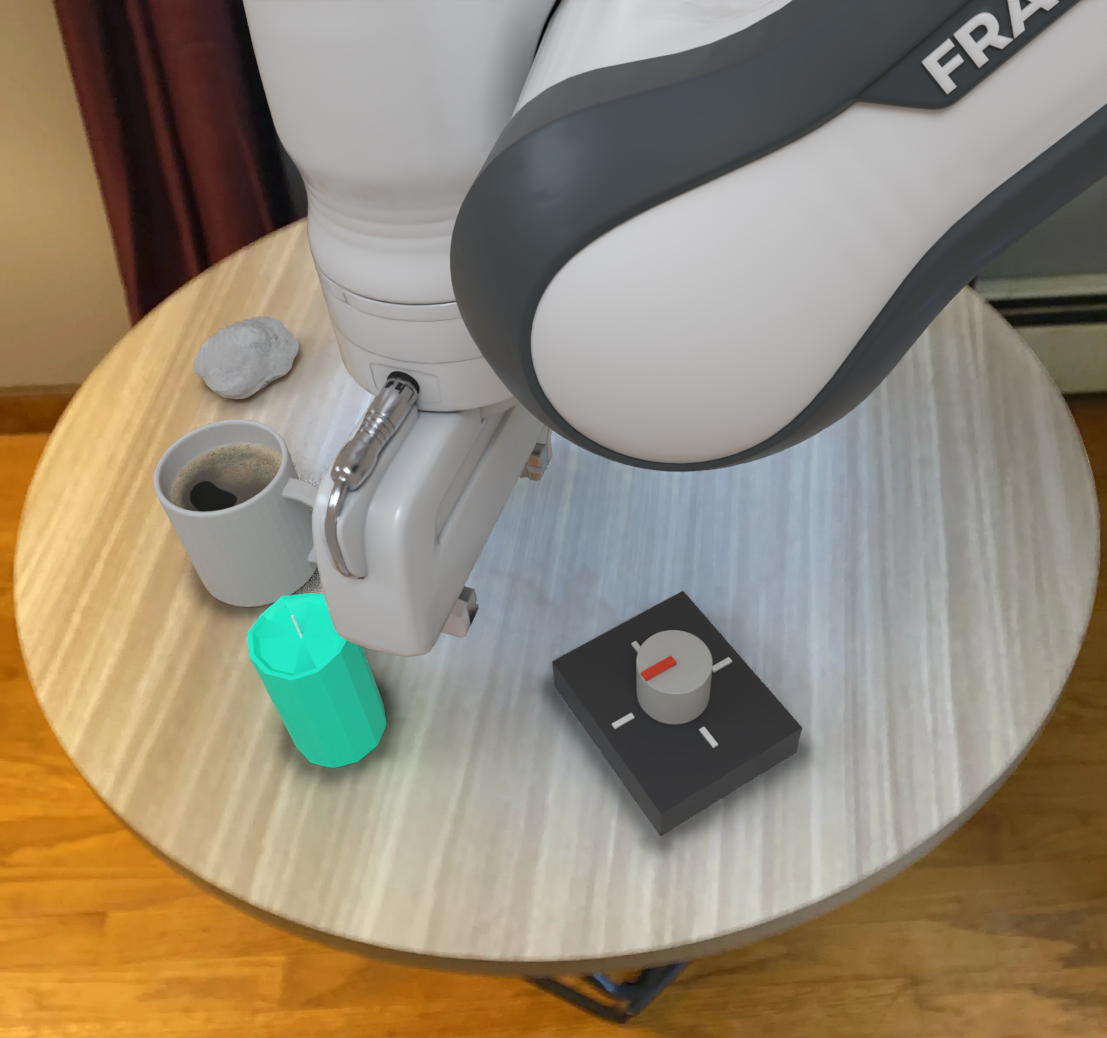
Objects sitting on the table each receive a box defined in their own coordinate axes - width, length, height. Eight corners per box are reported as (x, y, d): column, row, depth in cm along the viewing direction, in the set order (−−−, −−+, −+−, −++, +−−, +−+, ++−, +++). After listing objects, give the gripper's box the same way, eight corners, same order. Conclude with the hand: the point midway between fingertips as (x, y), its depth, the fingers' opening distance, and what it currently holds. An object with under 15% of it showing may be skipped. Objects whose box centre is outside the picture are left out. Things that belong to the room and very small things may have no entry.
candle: (405, 708, 66) (368, 597, 57) (348, 784, 63) (299, 679, 54) (333, 670, 69) (286, 558, 60) (274, 742, 65) (215, 634, 56)
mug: (180, 556, 76) (129, 462, 69) (291, 491, 80) (255, 395, 72) (251, 647, 70) (205, 556, 63) (368, 572, 74) (337, 477, 66)
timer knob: (681, 650, 64) (683, 615, 61) (724, 702, 62) (728, 667, 59) (622, 683, 63) (621, 648, 60) (663, 737, 60) (664, 704, 58)
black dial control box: (796, 752, 63) (802, 726, 60) (660, 836, 60) (661, 812, 57) (681, 616, 70) (683, 588, 67) (554, 686, 67) (551, 659, 64)
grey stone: (218, 345, 92) (199, 299, 88) (307, 340, 92) (292, 294, 88) (195, 411, 86) (175, 365, 83) (290, 407, 86) (274, 361, 82)
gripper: (411, 526, 30) (472, 755, 40) (620, 159, 42) (625, 407, 53) (225, 482, 32) (329, 712, 42) (477, 141, 44) (510, 385, 54)
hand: (495, 540), depth 47 cm, fingers open, 8 cm apart
